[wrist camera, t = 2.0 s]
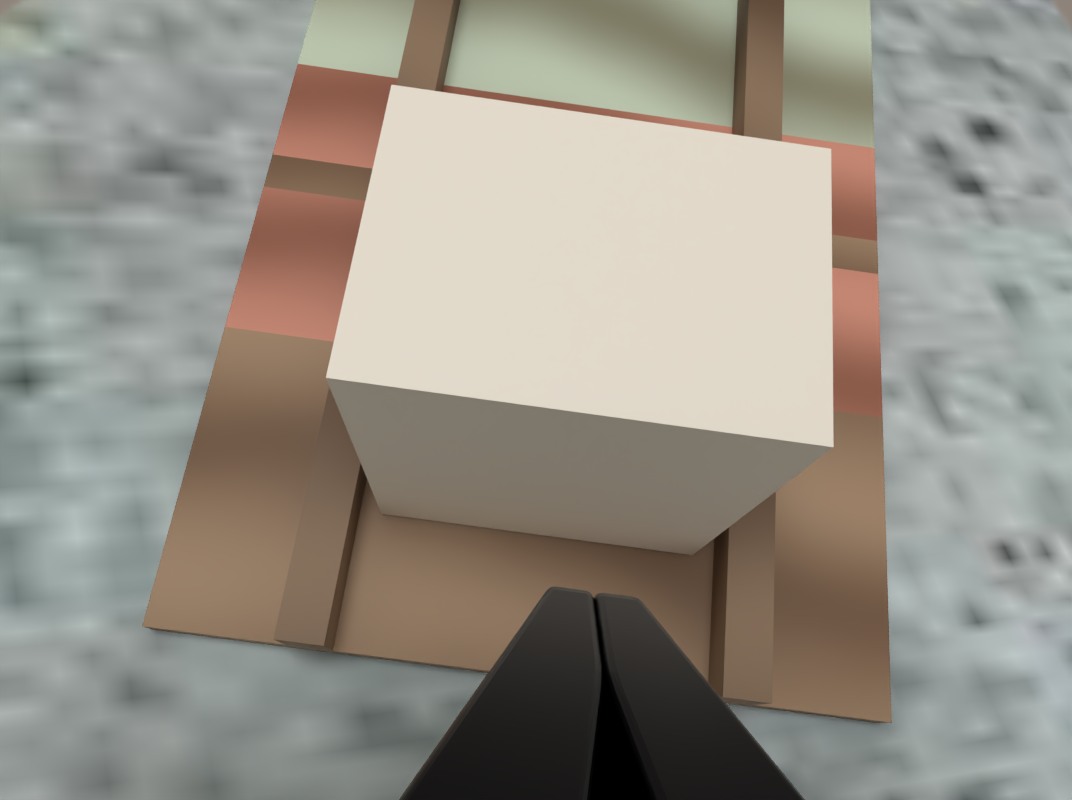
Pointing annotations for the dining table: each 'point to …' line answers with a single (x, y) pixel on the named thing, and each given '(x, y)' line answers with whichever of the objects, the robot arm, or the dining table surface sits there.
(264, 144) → the dining table surface
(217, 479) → the board
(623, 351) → the cream block
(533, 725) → the robot arm
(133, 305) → the dining table surface
